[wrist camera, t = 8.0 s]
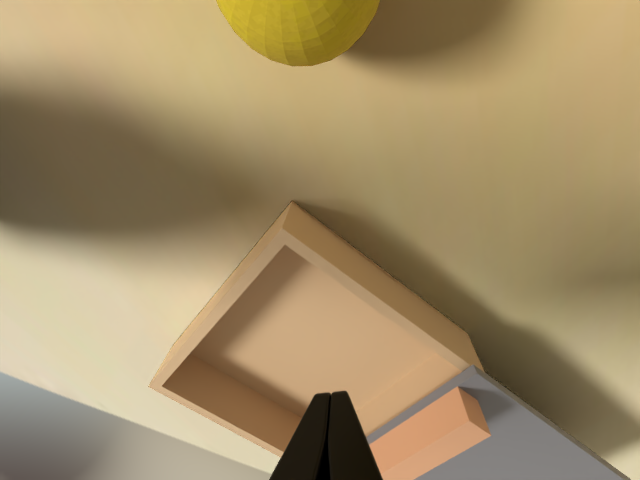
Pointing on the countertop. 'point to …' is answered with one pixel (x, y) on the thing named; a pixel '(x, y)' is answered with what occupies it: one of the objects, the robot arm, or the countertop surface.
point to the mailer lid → (481, 438)
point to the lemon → (299, 27)
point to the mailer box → (309, 338)
